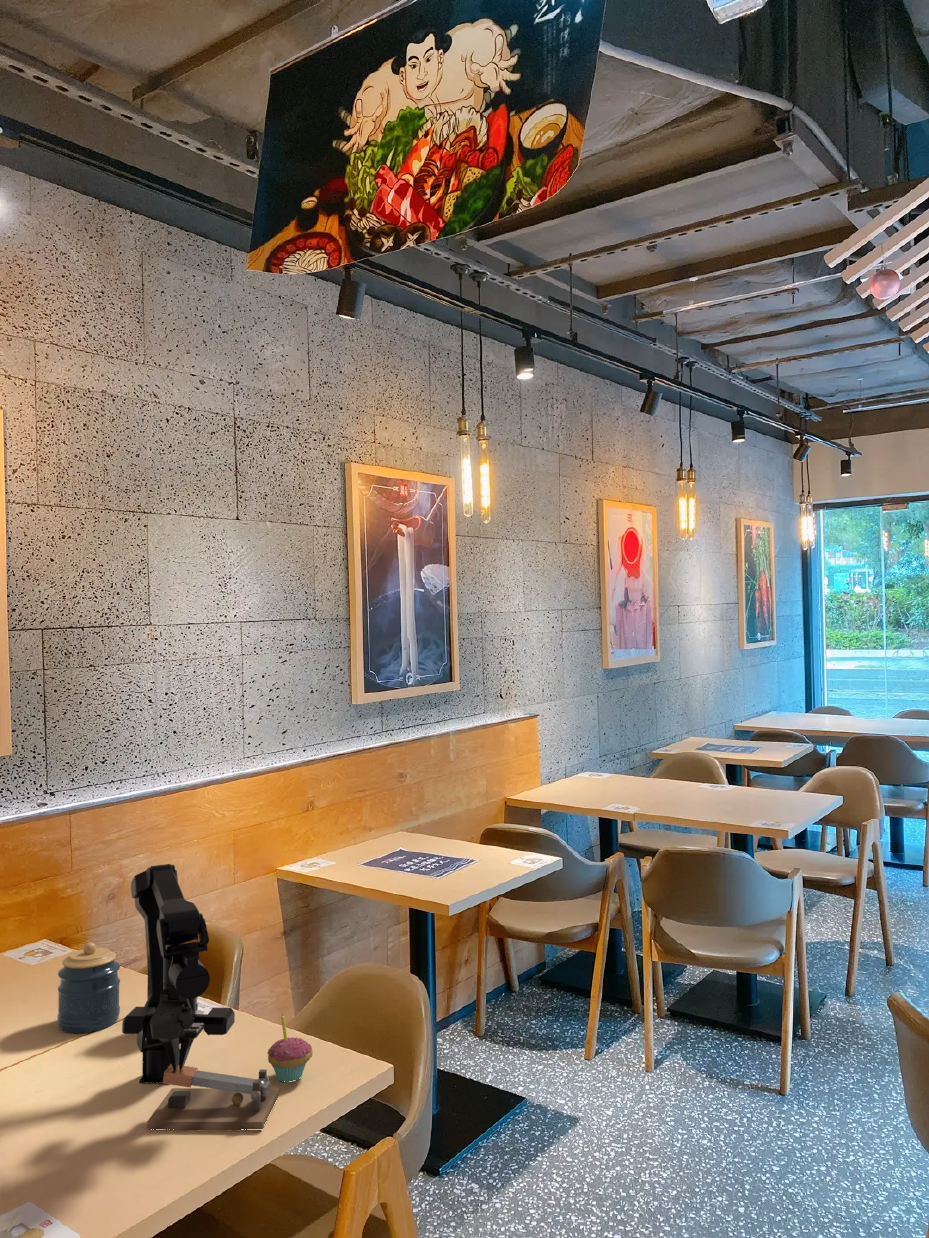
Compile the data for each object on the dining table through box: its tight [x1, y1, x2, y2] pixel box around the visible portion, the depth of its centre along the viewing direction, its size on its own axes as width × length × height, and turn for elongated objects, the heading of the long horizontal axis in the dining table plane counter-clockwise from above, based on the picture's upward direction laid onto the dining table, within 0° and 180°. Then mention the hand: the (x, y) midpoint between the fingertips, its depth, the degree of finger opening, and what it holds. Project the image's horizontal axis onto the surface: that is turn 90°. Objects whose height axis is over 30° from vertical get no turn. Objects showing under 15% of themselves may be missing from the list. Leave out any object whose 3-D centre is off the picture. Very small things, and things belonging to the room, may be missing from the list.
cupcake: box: [267, 1011, 314, 1083], centre depth 175 cm, size 9×8×12 cm
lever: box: [162, 1064, 271, 1097], centre depth 161 cm, size 18×3×2 cm, turn 88°
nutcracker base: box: [146, 1069, 280, 1132], centre depth 161 cm, size 20×12×6 cm, turn 88°
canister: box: [56, 941, 121, 1034], centre depth 202 cm, size 13×13×18 cm
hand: (178, 1068), depth 161 cm, fingers closed
